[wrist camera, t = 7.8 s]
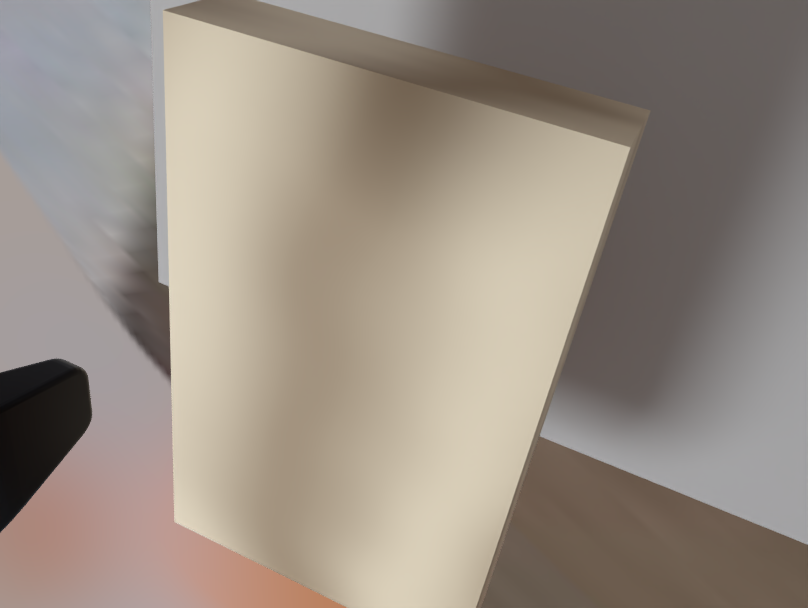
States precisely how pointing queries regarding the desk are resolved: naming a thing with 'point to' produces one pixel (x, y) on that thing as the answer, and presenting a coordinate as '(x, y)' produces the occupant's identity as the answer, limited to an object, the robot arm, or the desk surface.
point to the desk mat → (659, 229)
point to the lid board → (370, 293)
